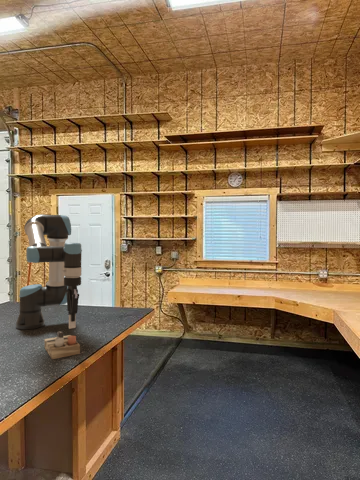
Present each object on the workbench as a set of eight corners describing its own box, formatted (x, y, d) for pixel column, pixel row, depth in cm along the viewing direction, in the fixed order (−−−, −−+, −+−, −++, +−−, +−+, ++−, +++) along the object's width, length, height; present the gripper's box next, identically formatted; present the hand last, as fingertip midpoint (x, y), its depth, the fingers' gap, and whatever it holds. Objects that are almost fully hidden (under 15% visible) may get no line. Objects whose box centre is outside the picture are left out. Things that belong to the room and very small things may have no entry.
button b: (54, 345, 143) (54, 338, 143) (62, 344, 145) (62, 337, 145) (56, 348, 140) (56, 340, 140) (64, 346, 142) (64, 339, 142)
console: (44, 347, 150) (44, 338, 150) (70, 342, 157) (70, 334, 157) (51, 359, 137) (52, 349, 137) (79, 353, 144) (79, 344, 144)
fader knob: (57, 337, 151) (57, 331, 151) (61, 337, 152) (61, 330, 152) (58, 339, 149) (58, 333, 149) (63, 338, 150) (63, 332, 150)
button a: (66, 343, 146) (66, 336, 146) (74, 341, 148) (74, 335, 148) (68, 345, 143) (69, 338, 143) (76, 344, 145) (77, 337, 145)
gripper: (60, 275, 148) (60, 325, 149) (67, 279, 137) (67, 333, 138) (76, 274, 152) (76, 323, 153) (85, 278, 141) (84, 330, 142)
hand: (72, 327), depth 145 cm, fingers closed
